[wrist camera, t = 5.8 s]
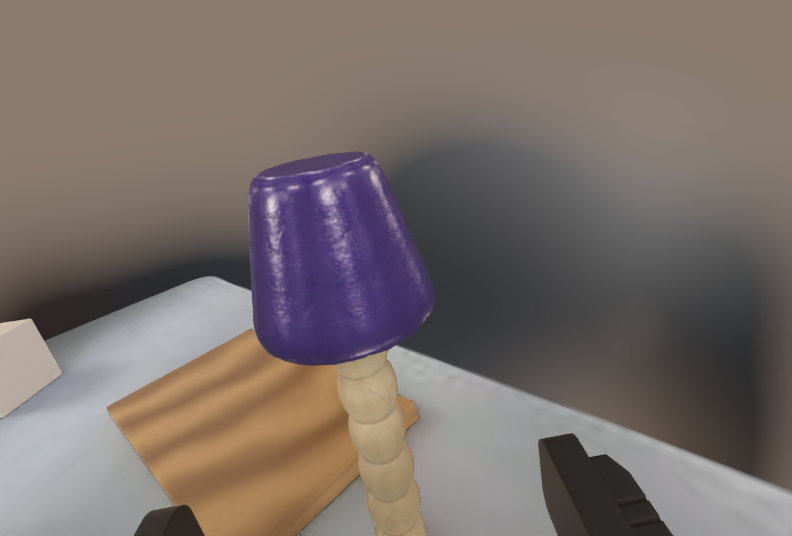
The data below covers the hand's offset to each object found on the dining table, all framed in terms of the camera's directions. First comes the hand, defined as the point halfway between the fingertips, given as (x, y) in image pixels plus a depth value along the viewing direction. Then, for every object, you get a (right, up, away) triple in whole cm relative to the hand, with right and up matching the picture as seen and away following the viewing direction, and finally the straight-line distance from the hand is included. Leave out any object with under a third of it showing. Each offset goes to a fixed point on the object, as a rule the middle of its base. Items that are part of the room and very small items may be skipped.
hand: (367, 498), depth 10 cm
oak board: (-9, -5, +19) cm, 22 cm away
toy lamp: (+2, -8, +6) cm, 10 cm away
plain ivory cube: (-34, -7, +29) cm, 45 cm away
